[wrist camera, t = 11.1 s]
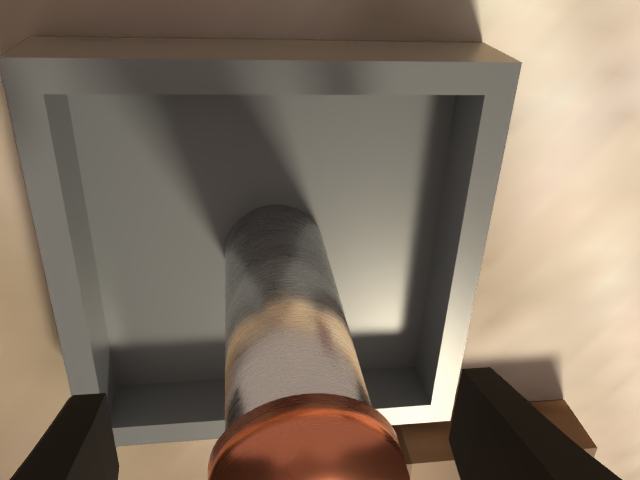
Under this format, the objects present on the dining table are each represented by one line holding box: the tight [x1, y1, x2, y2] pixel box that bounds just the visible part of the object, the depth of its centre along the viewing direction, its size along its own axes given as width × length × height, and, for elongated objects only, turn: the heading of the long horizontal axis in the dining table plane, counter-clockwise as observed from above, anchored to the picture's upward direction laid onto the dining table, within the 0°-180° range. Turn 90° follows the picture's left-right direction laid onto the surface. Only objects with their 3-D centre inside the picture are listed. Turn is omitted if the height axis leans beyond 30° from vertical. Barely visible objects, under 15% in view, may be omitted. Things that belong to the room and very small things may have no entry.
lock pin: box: [208, 205, 410, 480], centre depth 14 cm, size 4×4×9 cm
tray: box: [0, 36, 522, 446], centre depth 18 cm, size 12×12×2 cm
